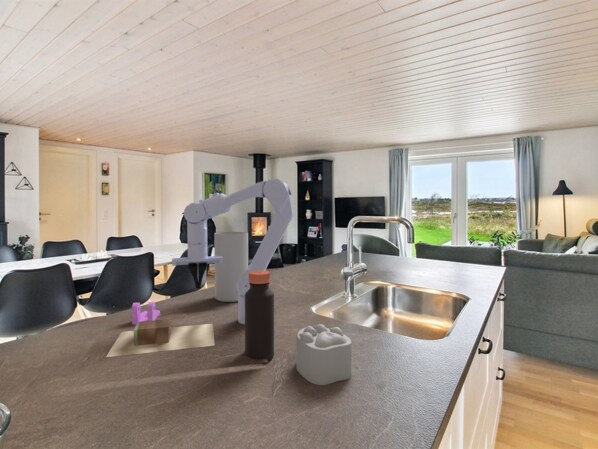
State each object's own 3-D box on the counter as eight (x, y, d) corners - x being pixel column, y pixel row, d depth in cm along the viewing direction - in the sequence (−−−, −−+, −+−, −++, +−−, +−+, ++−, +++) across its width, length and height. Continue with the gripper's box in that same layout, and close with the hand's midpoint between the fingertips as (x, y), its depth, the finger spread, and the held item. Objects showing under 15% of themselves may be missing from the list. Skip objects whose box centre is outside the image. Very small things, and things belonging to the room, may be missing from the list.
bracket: (152, 327, 99) (152, 303, 99) (132, 328, 98) (131, 304, 98) (161, 313, 112) (161, 292, 111) (143, 314, 111) (143, 293, 110)
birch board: (212, 327, 99) (212, 323, 99) (214, 349, 84) (214, 345, 84) (121, 335, 92) (121, 331, 92) (105, 361, 77) (105, 357, 77)
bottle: (250, 366, 75) (250, 276, 74) (241, 354, 81) (240, 271, 80) (278, 359, 78) (278, 273, 77) (267, 348, 84) (267, 268, 83)
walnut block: (170, 319, 91) (138, 321, 89) (168, 326, 85) (133, 329, 83) (170, 333, 91) (138, 336, 89) (168, 342, 85) (134, 345, 83)
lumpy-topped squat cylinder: (314, 388, 66) (314, 344, 66) (287, 360, 78) (287, 323, 77) (358, 376, 71) (358, 335, 70) (326, 352, 82) (326, 317, 82)
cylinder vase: (209, 297, 130) (208, 232, 129) (237, 292, 139) (236, 231, 137) (225, 304, 121) (225, 235, 120) (254, 298, 130) (254, 233, 128)
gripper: (221, 241, 108) (221, 283, 109) (173, 242, 104) (173, 286, 105) (222, 243, 101) (223, 288, 102) (171, 245, 97) (171, 291, 98)
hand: (198, 287), depth 103 cm, fingers closed
